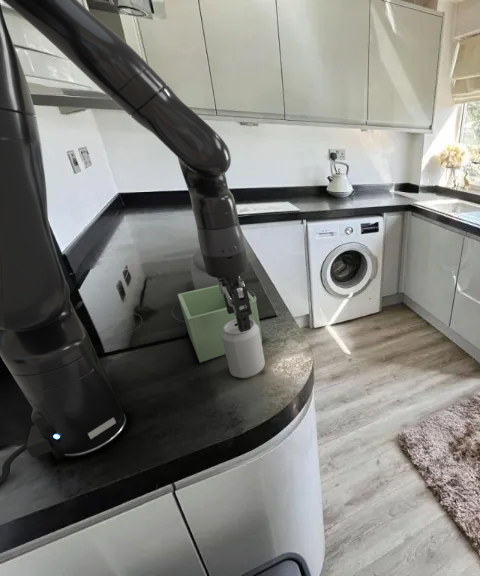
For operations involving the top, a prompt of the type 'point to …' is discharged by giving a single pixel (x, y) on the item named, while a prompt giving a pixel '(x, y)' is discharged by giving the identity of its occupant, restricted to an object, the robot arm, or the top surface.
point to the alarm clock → (201, 273)
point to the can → (243, 349)
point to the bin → (209, 320)
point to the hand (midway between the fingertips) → (239, 320)
